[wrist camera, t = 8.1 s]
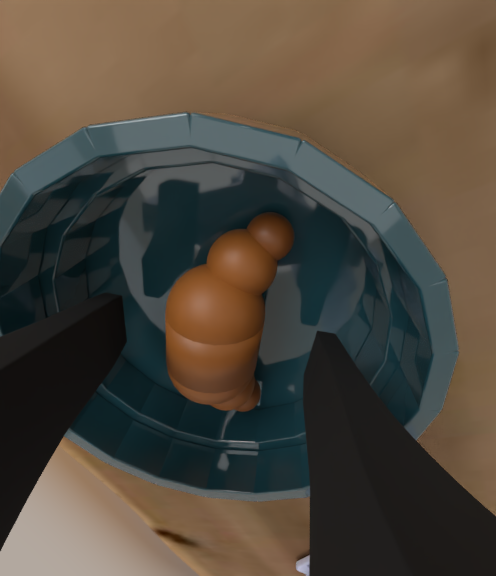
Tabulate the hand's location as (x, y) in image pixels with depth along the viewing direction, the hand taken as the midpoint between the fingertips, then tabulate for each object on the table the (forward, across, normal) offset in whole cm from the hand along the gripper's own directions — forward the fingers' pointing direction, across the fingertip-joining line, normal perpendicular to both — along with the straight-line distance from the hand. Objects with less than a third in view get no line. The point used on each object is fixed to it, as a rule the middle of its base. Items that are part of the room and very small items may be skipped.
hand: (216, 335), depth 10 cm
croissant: (+2, 0, 0) cm, 2 cm away
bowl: (+2, 0, 0) cm, 2 cm away
